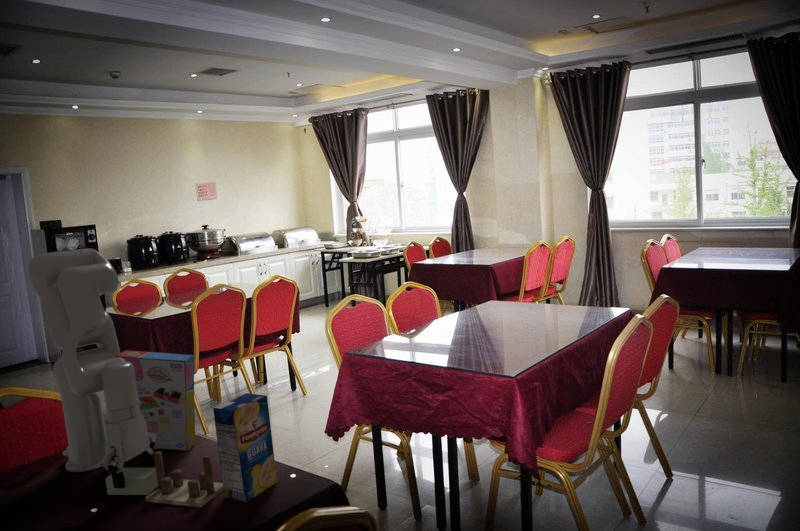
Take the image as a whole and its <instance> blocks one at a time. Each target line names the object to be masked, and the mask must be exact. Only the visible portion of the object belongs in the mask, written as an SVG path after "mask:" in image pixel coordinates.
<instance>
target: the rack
mask: <svg viewBox="0 0 800 531" xmlns="http://www.w3.org/2000/svg"><path fill="white" fill-rule="evenodd" d="M153 457H154V458H153V459H154V460H153V461H154V468H156V474H157V481H158V487H157V488H156V490H153V491H152V492H151V493H149V494H148V495H146V496H145V502H148V503H156V504H163V505H164V504H165V505H166V504H167V505H175V506H182V507H183V506H185V507H193V508H203V507H204V506H205V505H206V504H207V503H209V502H210V501H211V500H213V499H214V498H215V497H216V496H218V495H219V494H220V493H222V492H224V489H223V482H215V481H214V475H213V474H214V473H213V466H212V460H211V459H212V458H211V454H207V455H204V456H202V464H203V472H200V473H198V479H195V478H194V479H184V478H183V470H182V469H179V468H178V469H175V470H172V471H171V477H170V476H166V475H165V474H166V473H165V467H164V461H163V453H162V451H161V450H160V451H156V452H154V453H153Z"/></svg>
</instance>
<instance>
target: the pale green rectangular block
mask: <svg viewBox="0 0 800 531" xmlns="http://www.w3.org/2000/svg"><path fill="white" fill-rule="evenodd" d="M121 472H123V473H124V479H125V488H123V489H122V488H114V486H113V480H112V474H111V473H110V474H109V475H108V476H107V477H105V486H106V492H107V495H108V496H109V495H110V496H113V495H114V496H116V495H117V496H118V495H119V496H148V495H150V494H151V493H153V492H154V491H155V489H158V481H157V474H156V467H154V468H142V467H122V470H121Z"/></svg>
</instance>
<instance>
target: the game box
mask: <svg viewBox="0 0 800 531" xmlns="http://www.w3.org/2000/svg"><path fill="white" fill-rule="evenodd" d="M194 356H195V355H193V354H182V353H168V352H154V351H144V350H143V351H141V350H130V349H129V350H126V349H125V350H124V351H122V352H121V353H120V354H118V355H117V356H116V357H120V358H123V359H124V360H125V361H126V362H130V363H132V364H133V366H134V370H135V376H136V383H137V390H138V396H139V401H140V402H141V406H140V409H141V412H142V414H143V416H144V419H145V422H146V425H147V429H148V432H149V433H155V434H156V439H155V446H154V449H162V450H163V449H164V450H174V451H175V450H176V451H184V452H188V451H190V450H191V449H192V447H193V446H194V445H195V444H196V421H195V418H196V414H195V413H196V411H195V410H196V409H195V406H196V405H195V367H194V366H195V363H194V360H195V359H194Z"/></svg>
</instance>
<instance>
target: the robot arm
mask: <svg viewBox="0 0 800 531" xmlns="http://www.w3.org/2000/svg"><path fill="white" fill-rule="evenodd" d="M27 268H28V269H27V271H28V278H29V280H30V283H31V285H32V287H33V289H34V290H35V293H36V294H37V295H38V297H39V299H40V301H41V302H42V305H43V308H44V313H45V317H46V321H47V326H48V330H49V334H50V336H51V337H50V338H51V341H52V344H53V345H54V347H55V348H56V349H58V350H60V351H62V352H61V353H62V354H61V357H60V358H59V359H57V360H56V361H55V362H54V364H53V367H52V372H53V376H54V379H55V382H56V386H57V389H58V391H59V395H60V400H61V404H62V405H61V406H62V411H63V412H62V413H63V417H64V418H63V419H64V422H65V423H64V424H65V430H66V435H67V442H68V446H66V448H65V450H63V451H62V456H64V457H67V458H68V460H67V461H66V463H65V470H66V471H68V472H71V473H82V472H87V471H93V470H96V469H99V468H102V467H103V468H104V470H105V471H106V472H108V473H109V474H110V475H111V474H112V480H113V486H114V488H122V489H123V488H125V479H124V473H123V472H121V470H122V468H124V464H125V463H126V462H128V461H131V460H132V459H134V458H136V457H137V456H139V455H140V460H141V461H140V462H141V468H155V464H154V460H153V459H154V458H153V455H154V453H155V452H154V449H155V448H154V446H155V439H156V434H155V433H149V432H148V429H147V425H146V422H145V419H144V416H143V414H142V412H141V409H140V406H141V402H140V401H139V396H138V390H137V383H136V376H135V370H134V366H133V364H132V363H130V362H126V361H125V360H124V359H123V358H120V357H116V356H117V355H118V354H120V353H122V352H121V348H120V346H119V340H118V337H117V333H116V328H115V325H114V324H115V323H114V321H113V319H112V317H111V315H110V314H109V313H108V312H107V311H105V309H104V306H103V304H102V301H101V297H100V296H101V295H108V294H112V293H115V292H116V291H117V290H118V288H119V283H120V282H119V276H118V274H117V270H115V268H114V266H113V265H112V264H111V262H110V261H109V260H108V259H107V258H106V257H105V256H103V255H102V254H101V253H100V252H99V251H97V250H96V249H94V248H89V247H88V248H79V249H72V250H71V249H70V250H59V251H53V252H47V253H46V252H45V253H42V254H38V255H36V256H34V257H33V258H31V259H30V260H29V262H28V267H27ZM90 345H96V346H97V348H92V349H88V350H83V351H78V352H77V349H78V348H80V347H86V346H90ZM100 392H103V396H104V402H105V403H104V404H105V409H106V415H107V421H108V422H106V423H105V419H104V412H103V407H102V406H103V405H102V400H101V398H100V396H99V395H98V394H97V393H100Z"/></svg>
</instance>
